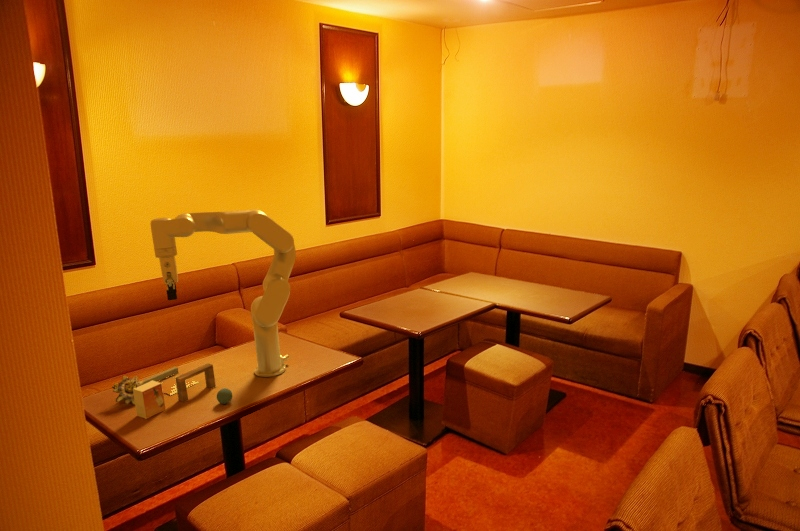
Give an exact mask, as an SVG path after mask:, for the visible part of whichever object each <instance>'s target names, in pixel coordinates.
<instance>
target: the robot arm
mask: <svg viewBox="0 0 800 531" xmlns="http://www.w3.org/2000/svg"><path fill="white" fill-rule="evenodd" d="M149 224H150V232H151V237H152V242H153V243H152V245H153V250H154V256H155V258H158V259H159V265H160V272H161V275H162V280H163V283H164V284H165V285H166V297H167V301H173V300H175V301H176V300H177V299H178V295H177V293H178V292H177V285H176V283H178V282H179V274H178V268H177V262H176V258H175V257H176V256H177V255H178V251H177V250H178V249H177V243H176V238H189V237H191V236H193V235H194V234H195V233H199V232H202V233H203V232H209V233H210V232H212V233H217V234H221V235H231V234H242V233H252V234H254V235H255V236H256V237H257V238H258V239H260V240H261V241H262V242H264V243H265V244H266V245H268V246H269V247H270V248H272V249H273V258H272V260H271V263H270V266H269V268H268V271H267V273H266V275H265V277H264V279H263V280H262V289H263V291H264V292H263V293H262V294H263V295H261V296H257V297H256V298H255V299H253V301H252V302H251V305H250V315H251V321H252V328H253V336H254V338H253V339H254V346H255V354H256V363H257V364H256V365H257V366H256V367H255V368H254V371H253V372H254V375H256V376H258V377H262V378H270V377H276V376H279V375H281V374H283V373H284V372H285V371H286V370H287V368H286V367H287V366H286V364H284V363H285V361H288V360H289V359H290V355H289V354H285V355H284V356H283V355H281V349H280V348H281V347H280V337H279V327H278V321H279V320H280V318H281V316H282V314H283V312H284V309H285V306H286V304H287V302H288V300H289V298H290V294H291V284H290V282H289V278H290V276H291V273H292V271H293V268H294V265H295V263H296V258H297V257H296V256H297V254H296V252H297V251H296V246H295V238H294V237H293V235H292V234H291V233H290V232H289V231H288V230H287V229H286V228H284V227H282V226H281V225H280V224H278V223H277V222H276V221H275V220H273V219H272V218H271V217H270V216H269V215H267V213H265V212H264V211H262V210H260V209H248V210H247V209H245V210H231V211H228V210H227V211H213V212H212V211H209V212H208V211H206V212H205V211H204V212H187V213H180V214H178V215H176V217H175V218H172V219H171V218H169V217H158V218H154V219H152V220H151V221H150V223H149Z"/></svg>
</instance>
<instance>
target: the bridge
mask: <svg viewBox="0 0 800 531" xmlns="http://www.w3.org/2000/svg"><path fill="white" fill-rule="evenodd" d="M214 371H215V370H214V364H211V363H208V362H207V363H205V364H203V365H200V366H198V367H196V368H194V369H191V370H189V371H187V372H185V373H182V374H181V375H177V376H178V377H177V376H174V377H175V380H176V387H177V393H176V394H177V397H178V398H177V399H178V401H179V402H182V403H184V402H188V401H189V396H188V390H187V389H188V388H186V381H185V380H187V379H191V378H193V377H195V376H198V375H200V374H204V378H205V384H206V385H205V387H206V388H209V389H211V388H212V389H214V388H215V386H216V380H215V372H214ZM213 387H214V388H213Z"/></svg>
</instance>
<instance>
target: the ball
mask: <svg viewBox="0 0 800 531" xmlns="http://www.w3.org/2000/svg"><path fill="white" fill-rule="evenodd" d="M232 398H233V392H232V391H231V390H230V389H229V388H221V389H220V390H219V391H217V393H216V400H217V401H218V403H219V404H222V405H225V404H229V403H230V402H231V401H232Z"/></svg>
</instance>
